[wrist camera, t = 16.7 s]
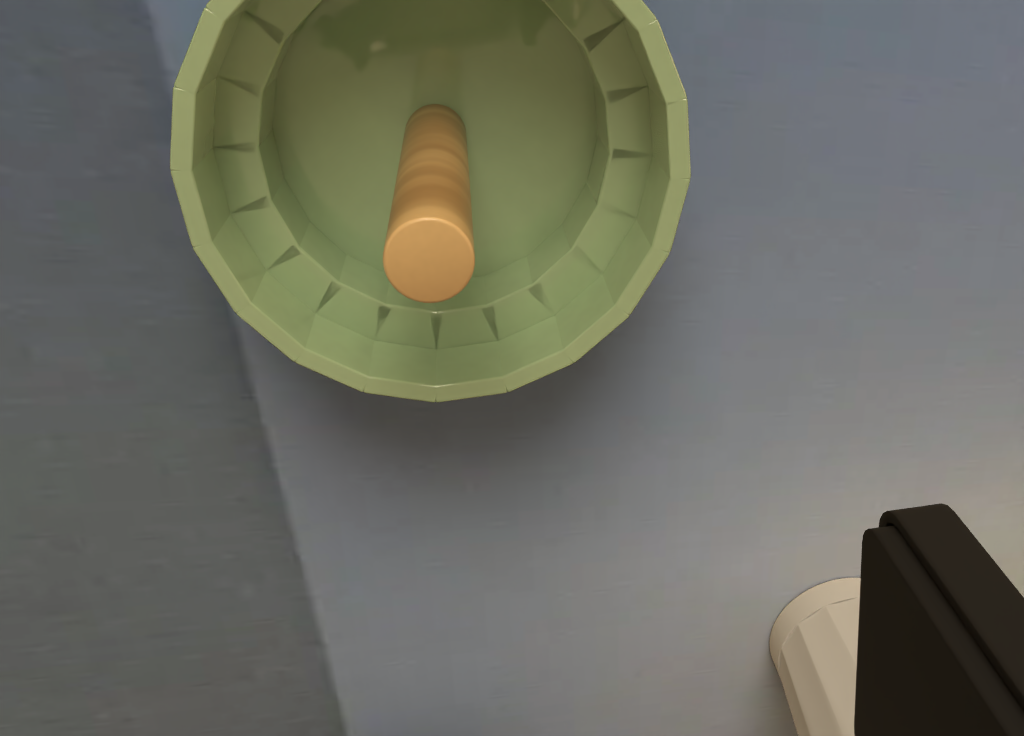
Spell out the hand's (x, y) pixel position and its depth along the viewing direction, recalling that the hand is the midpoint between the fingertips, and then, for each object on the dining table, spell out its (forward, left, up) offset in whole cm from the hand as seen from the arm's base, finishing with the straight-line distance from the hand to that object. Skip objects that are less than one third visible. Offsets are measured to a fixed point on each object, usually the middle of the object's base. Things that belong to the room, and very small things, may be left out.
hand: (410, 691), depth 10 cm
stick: (0, 0, -25) cm, 25 cm away
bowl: (0, 0, -25) cm, 25 cm away
